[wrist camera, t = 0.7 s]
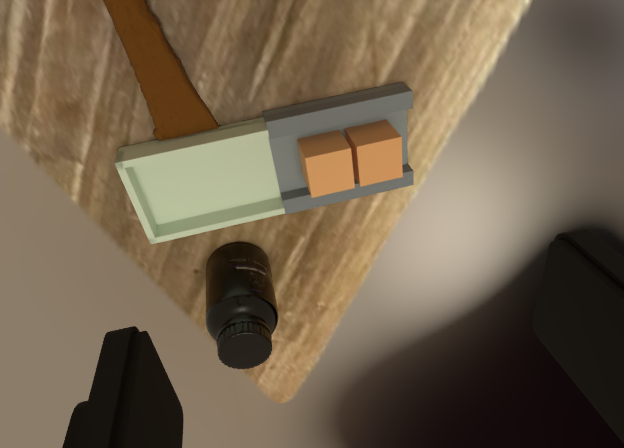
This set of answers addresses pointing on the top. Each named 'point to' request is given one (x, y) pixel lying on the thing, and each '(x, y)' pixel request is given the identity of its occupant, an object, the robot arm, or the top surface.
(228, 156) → the tray
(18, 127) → the top surface
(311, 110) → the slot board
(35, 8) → the top surface
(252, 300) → the supplement bottle
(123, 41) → the primitive tool
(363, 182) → the orange cube
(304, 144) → the orange cube block
